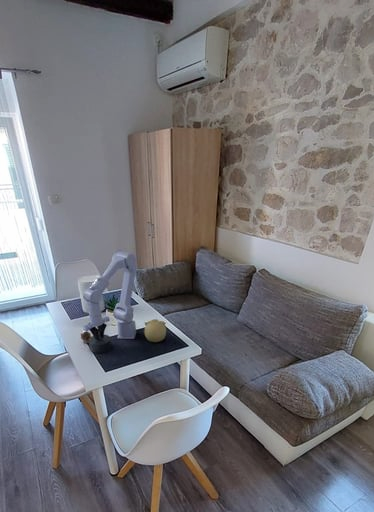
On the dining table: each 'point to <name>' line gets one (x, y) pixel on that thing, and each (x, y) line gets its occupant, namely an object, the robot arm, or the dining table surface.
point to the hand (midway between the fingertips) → (99, 338)
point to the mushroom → (85, 336)
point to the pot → (100, 348)
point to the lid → (101, 340)
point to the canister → (85, 284)
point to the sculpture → (155, 330)
